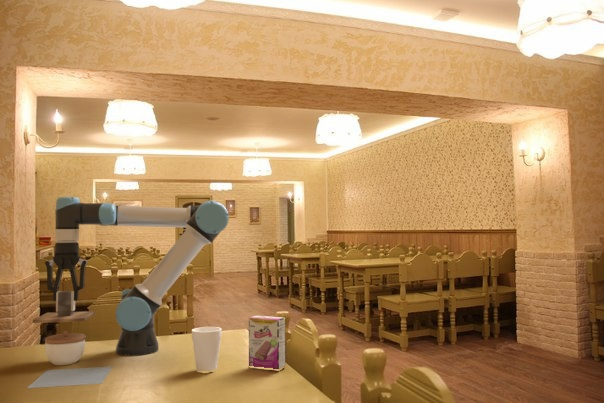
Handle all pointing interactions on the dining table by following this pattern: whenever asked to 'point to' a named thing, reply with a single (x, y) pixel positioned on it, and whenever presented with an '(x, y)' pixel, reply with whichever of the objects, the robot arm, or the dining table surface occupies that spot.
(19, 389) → the dining table surface
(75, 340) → the lidded bowl
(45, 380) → the mat
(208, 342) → the foam cup
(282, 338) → the candy bar box
